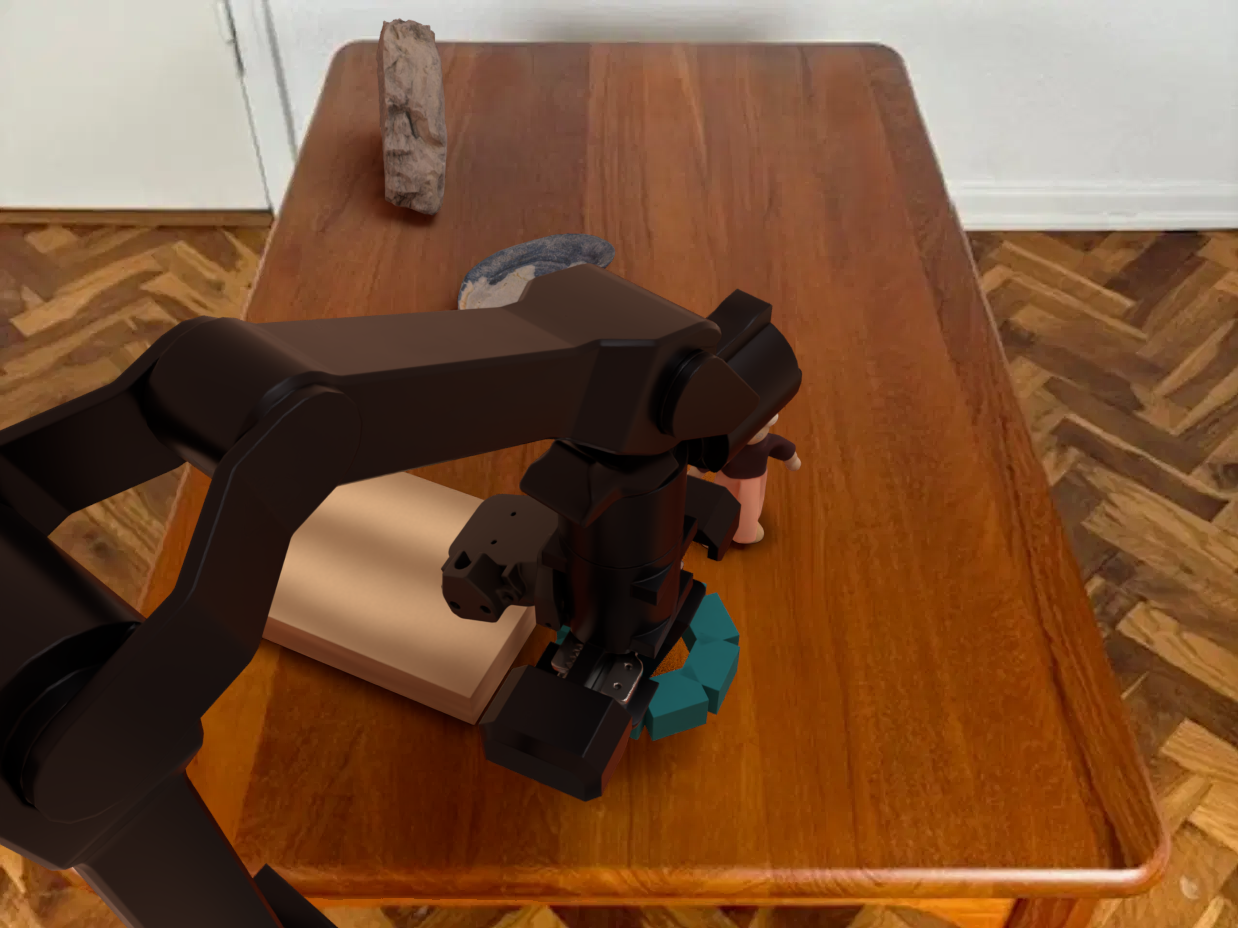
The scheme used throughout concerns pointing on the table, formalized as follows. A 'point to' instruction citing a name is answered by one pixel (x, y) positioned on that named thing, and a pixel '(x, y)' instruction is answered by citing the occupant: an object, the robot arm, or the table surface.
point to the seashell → (528, 267)
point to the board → (392, 596)
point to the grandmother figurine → (752, 477)
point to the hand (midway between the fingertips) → (619, 707)
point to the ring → (693, 673)
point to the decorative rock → (412, 115)
